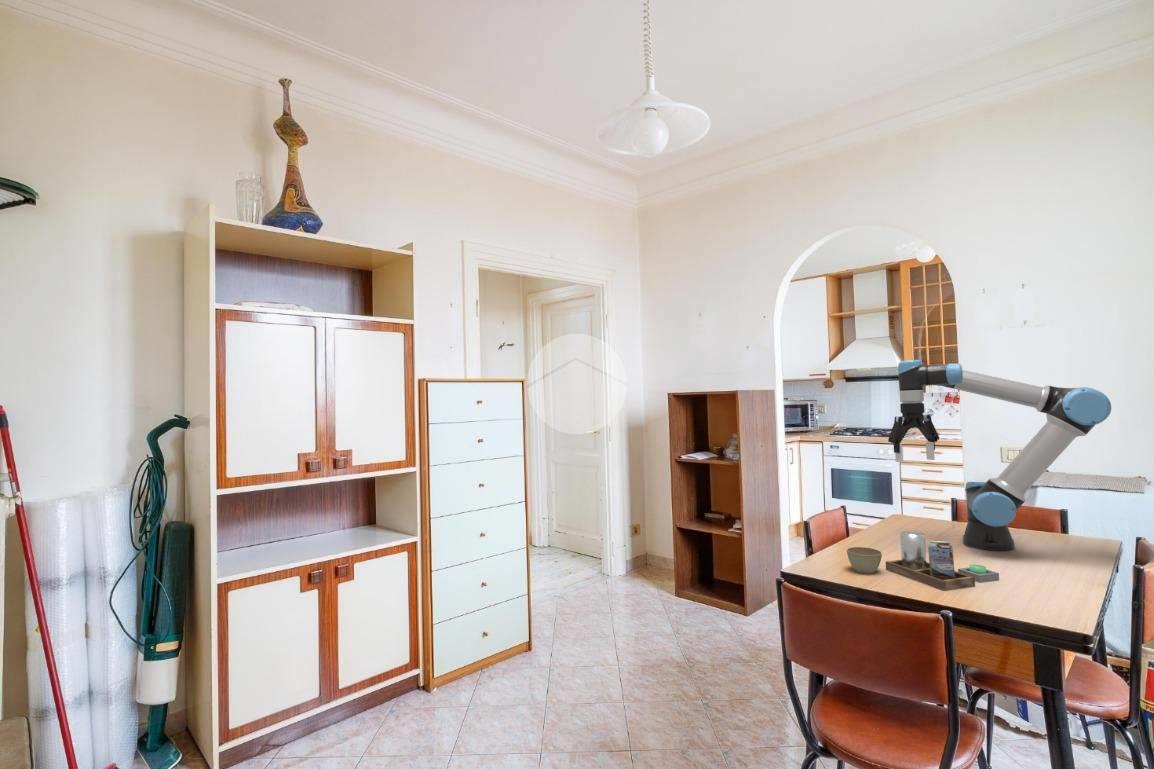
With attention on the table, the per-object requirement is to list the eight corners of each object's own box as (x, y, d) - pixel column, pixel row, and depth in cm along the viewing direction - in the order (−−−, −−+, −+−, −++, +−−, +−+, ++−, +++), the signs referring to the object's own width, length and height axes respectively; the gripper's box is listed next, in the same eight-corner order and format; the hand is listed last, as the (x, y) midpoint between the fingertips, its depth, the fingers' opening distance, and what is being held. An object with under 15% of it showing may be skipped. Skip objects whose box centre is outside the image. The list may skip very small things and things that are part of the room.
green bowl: (849, 577, 174) (848, 554, 174) (846, 567, 183) (844, 546, 183) (885, 579, 170) (884, 556, 171) (880, 570, 180) (879, 547, 180)
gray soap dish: (977, 576, 170) (976, 566, 170) (999, 583, 163) (998, 573, 164) (958, 578, 169) (957, 568, 169) (980, 586, 162) (979, 575, 162)
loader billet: (914, 568, 177) (912, 530, 177) (932, 574, 170) (930, 535, 171) (897, 570, 175) (895, 532, 176) (914, 576, 169) (912, 536, 169)
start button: (977, 574, 169) (976, 564, 169) (990, 578, 165) (989, 567, 165) (966, 575, 168) (966, 565, 168) (979, 579, 164) (978, 569, 164)
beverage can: (936, 586, 160) (933, 544, 161) (925, 578, 167) (923, 537, 168) (960, 586, 159) (958, 544, 159) (948, 578, 166) (946, 538, 167)
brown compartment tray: (914, 569, 179) (914, 558, 180) (975, 589, 159) (974, 577, 159) (886, 572, 177) (885, 561, 177) (943, 594, 156) (943, 581, 157)
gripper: (931, 401, 210) (934, 457, 210) (875, 403, 205) (878, 461, 204) (948, 401, 203) (952, 459, 202) (891, 403, 197) (894, 463, 197)
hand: (915, 460), depth 203 cm, fingers open, 13 cm apart
